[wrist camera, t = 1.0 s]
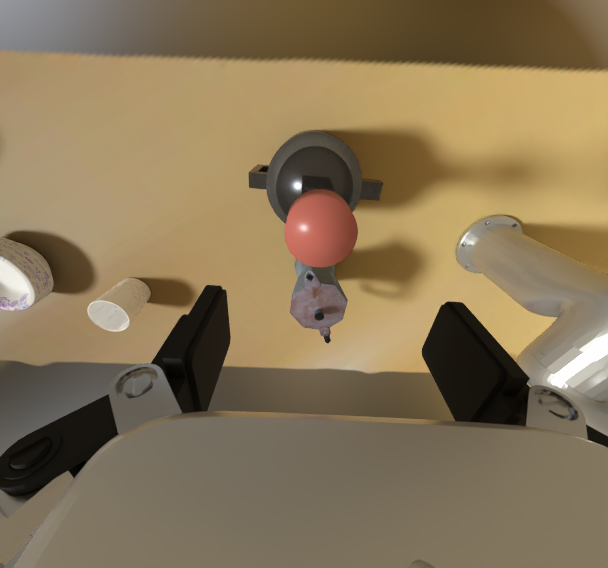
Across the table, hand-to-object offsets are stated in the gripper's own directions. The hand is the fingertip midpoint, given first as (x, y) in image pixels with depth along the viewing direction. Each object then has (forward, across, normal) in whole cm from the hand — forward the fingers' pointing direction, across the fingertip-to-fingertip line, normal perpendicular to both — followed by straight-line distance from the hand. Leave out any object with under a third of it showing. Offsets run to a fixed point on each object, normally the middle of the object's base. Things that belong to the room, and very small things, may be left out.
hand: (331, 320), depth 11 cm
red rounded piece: (+21, 0, 0) cm, 21 cm away
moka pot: (+42, -3, +19) cm, 47 cm away
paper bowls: (+42, +60, +24) cm, 78 cm away
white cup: (+42, +38, +29) cm, 64 cm away
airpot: (+42, 0, 0) cm, 42 cm away
